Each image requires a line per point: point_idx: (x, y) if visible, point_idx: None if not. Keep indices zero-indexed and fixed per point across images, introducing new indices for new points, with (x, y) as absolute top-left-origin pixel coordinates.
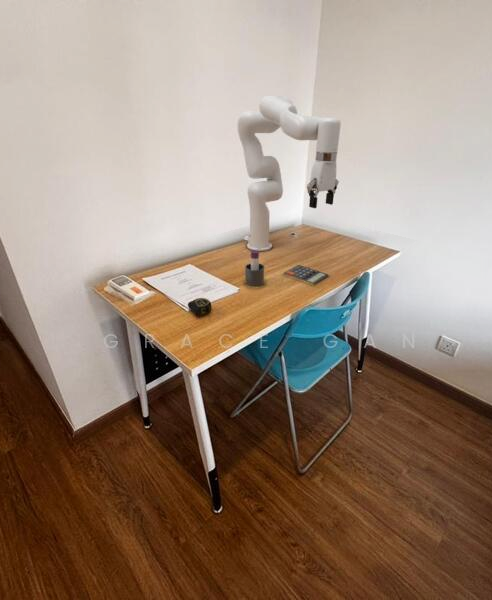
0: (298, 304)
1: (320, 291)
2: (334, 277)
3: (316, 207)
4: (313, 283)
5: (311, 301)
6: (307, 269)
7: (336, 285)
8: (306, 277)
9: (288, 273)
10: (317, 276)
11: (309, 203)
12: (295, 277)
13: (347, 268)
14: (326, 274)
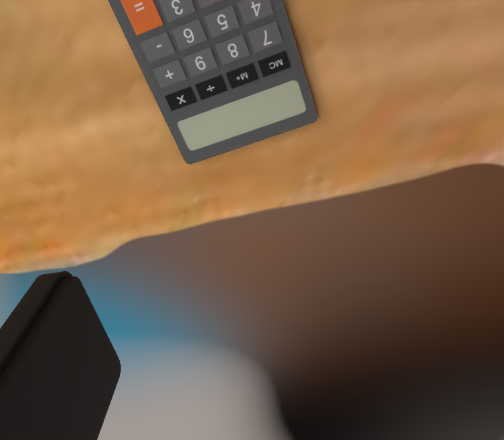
0: (55, 244)
1: (185, 211)
2: (335, 141)
3: (114, 377)
4: (186, 162)
5: (110, 250)
6: (255, 12)
7: (282, 204)
8: (188, 100)
9: (122, 4)
10: (252, 110)
11: (16, 309)
12: (139, 64)
13: (487, 90)
14: (308, 117)
